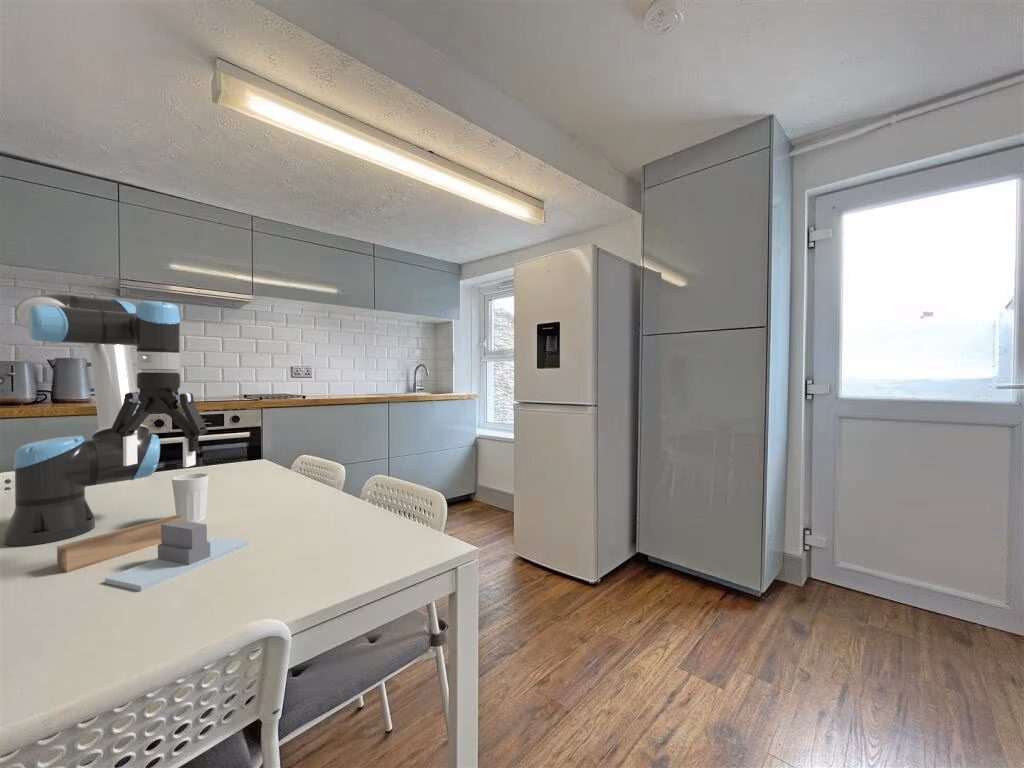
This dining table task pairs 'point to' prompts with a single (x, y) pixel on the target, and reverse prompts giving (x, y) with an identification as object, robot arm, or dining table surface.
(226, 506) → the dining table surface
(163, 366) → the robot arm
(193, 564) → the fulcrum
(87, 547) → the bar
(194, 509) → the cup
